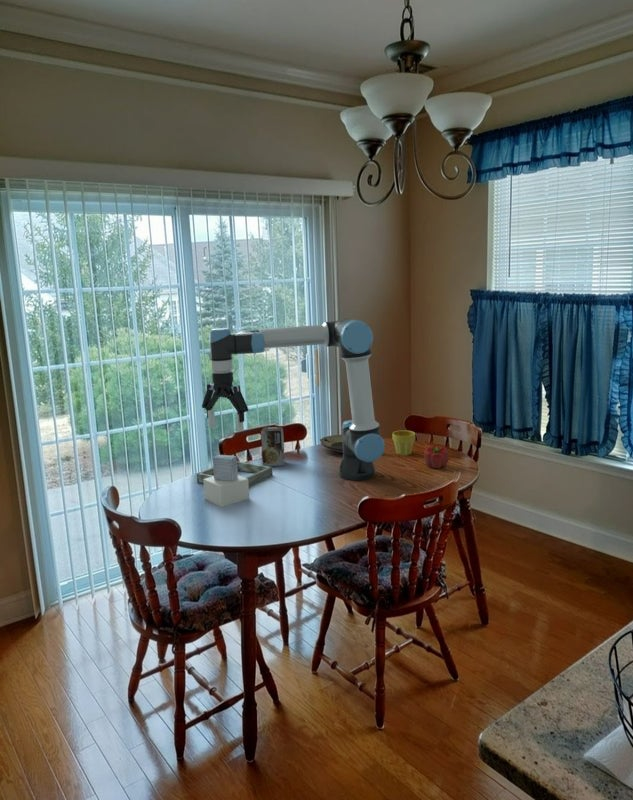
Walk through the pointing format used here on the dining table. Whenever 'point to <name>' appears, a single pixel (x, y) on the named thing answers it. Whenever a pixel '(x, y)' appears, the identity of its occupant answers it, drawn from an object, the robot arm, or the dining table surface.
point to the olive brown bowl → (333, 443)
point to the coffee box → (273, 446)
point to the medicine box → (225, 467)
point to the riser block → (226, 490)
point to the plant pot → (403, 441)
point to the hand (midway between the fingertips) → (226, 428)
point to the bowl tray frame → (259, 470)
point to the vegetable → (436, 456)
